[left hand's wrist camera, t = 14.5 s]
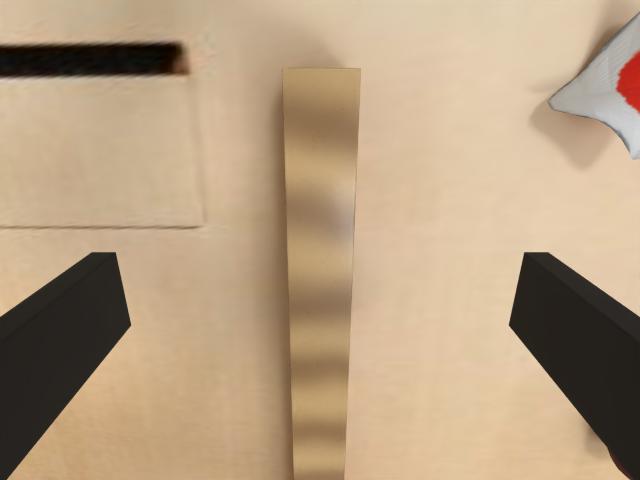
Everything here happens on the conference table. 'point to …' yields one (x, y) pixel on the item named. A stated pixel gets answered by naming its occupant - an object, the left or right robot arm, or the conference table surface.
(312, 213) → the bar
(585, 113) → the fish
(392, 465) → the conference table surface
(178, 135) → the conference table surface
